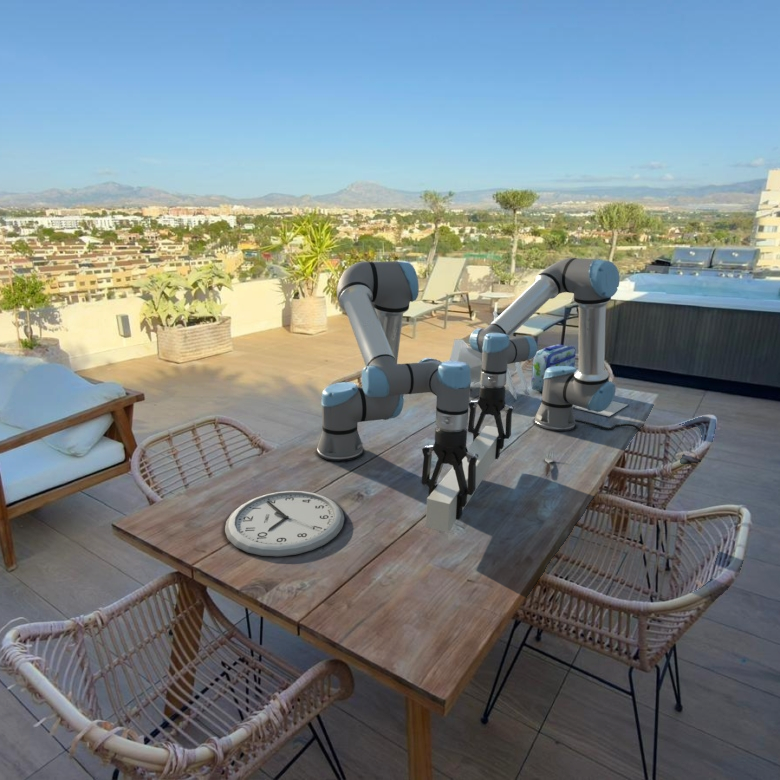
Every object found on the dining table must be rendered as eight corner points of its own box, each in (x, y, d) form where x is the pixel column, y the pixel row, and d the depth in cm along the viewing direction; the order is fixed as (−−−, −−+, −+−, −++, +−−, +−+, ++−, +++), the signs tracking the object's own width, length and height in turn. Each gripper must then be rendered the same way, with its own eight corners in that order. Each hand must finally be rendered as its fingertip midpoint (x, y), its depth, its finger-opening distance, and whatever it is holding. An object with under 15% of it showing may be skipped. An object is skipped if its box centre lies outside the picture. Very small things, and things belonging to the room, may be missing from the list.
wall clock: (344, 547, 121) (211, 552, 118) (344, 554, 121) (212, 558, 119) (344, 486, 149) (237, 489, 147) (344, 491, 150) (237, 494, 147)
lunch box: (547, 397, 237) (552, 352, 231) (526, 391, 245) (531, 348, 238) (574, 386, 255) (580, 344, 249) (554, 381, 262) (559, 340, 256)
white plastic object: (461, 429, 252) (437, 405, 227) (444, 352, 274) (420, 323, 250) (535, 404, 240) (518, 377, 215) (510, 326, 262) (492, 293, 237)
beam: (484, 447, 172) (486, 425, 170) (501, 450, 170) (503, 428, 168) (425, 527, 125) (426, 498, 123) (447, 533, 123) (449, 503, 121)
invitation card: (608, 416, 214) (573, 407, 224) (608, 416, 214) (573, 408, 224) (628, 404, 229) (594, 396, 238) (628, 405, 229) (594, 397, 238)
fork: (541, 476, 161) (542, 470, 161) (545, 456, 176) (546, 450, 175) (550, 477, 161) (551, 471, 160) (553, 457, 175) (554, 451, 174)
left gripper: (408, 425, 124) (406, 512, 131) (486, 439, 116) (479, 530, 123) (420, 415, 130) (417, 498, 137) (494, 428, 123) (487, 515, 130)
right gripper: (459, 384, 158) (455, 454, 165) (521, 392, 150) (514, 466, 157) (466, 377, 164) (462, 445, 171) (526, 386, 157) (519, 456, 164)
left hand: (446, 513), depth 130 cm, fingers closed on beam, 6 cm apart
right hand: (487, 455), depth 164 cm, fingers closed on beam, 6 cm apart
